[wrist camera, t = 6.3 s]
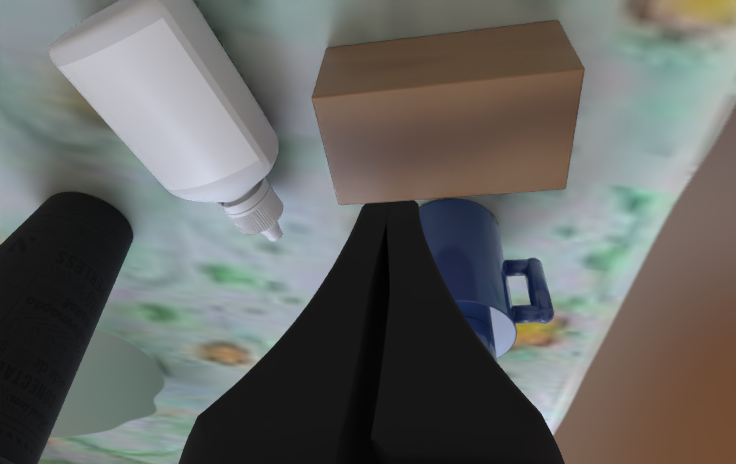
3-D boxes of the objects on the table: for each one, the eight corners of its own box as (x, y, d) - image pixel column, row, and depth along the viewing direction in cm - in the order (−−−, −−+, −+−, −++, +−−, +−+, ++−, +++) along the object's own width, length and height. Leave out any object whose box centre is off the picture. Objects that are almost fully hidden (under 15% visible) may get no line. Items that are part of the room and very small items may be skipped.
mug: (524, 204, 28) (540, 385, 27) (403, 213, 29) (413, 388, 28) (560, 166, 19) (587, 439, 18) (381, 181, 20) (395, 439, 19)
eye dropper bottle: (28, 67, 16) (236, 292, 23) (179, -22, 16) (336, 228, 24) (47, 39, 19) (223, 243, 27) (172, -33, 20) (311, 188, 27)
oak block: (546, 132, 22) (566, 190, 19) (347, 150, 23) (338, 206, 20) (559, 19, 19) (585, 68, 16) (325, 47, 20) (310, 97, 17)
